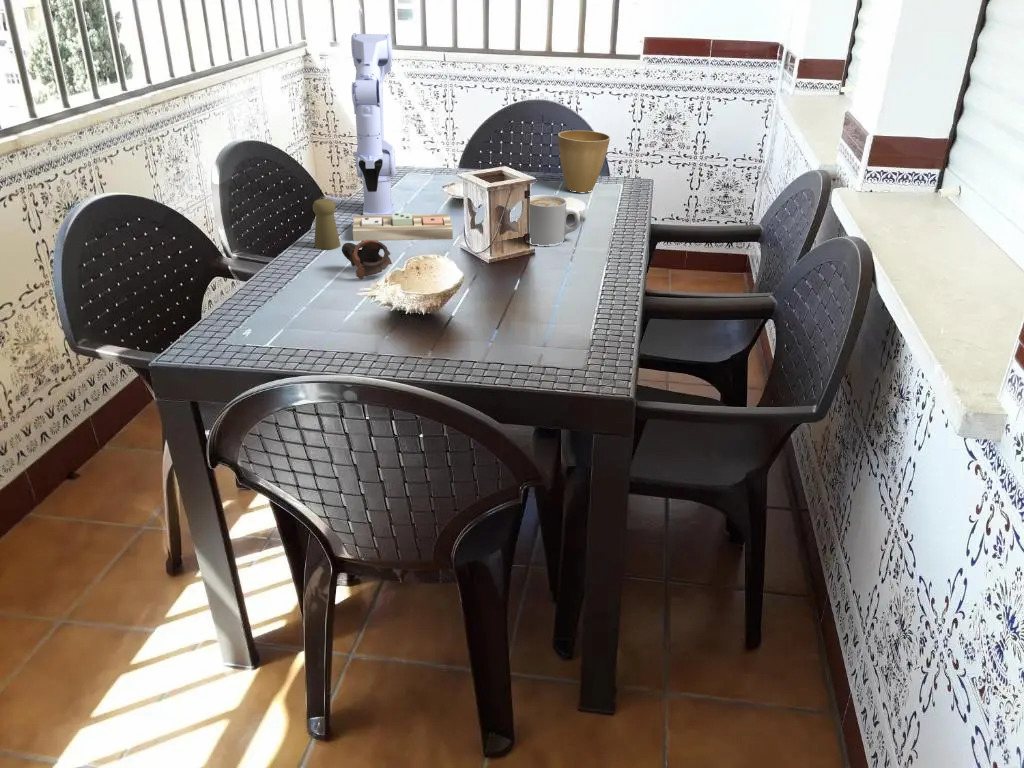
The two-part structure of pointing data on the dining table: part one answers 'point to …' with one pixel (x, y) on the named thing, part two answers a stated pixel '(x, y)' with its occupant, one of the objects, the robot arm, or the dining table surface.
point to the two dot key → (371, 221)
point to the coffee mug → (550, 219)
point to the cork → (325, 225)
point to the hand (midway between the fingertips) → (372, 191)
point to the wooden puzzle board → (402, 229)
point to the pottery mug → (367, 257)
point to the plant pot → (582, 158)
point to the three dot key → (402, 219)
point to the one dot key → (432, 221)
